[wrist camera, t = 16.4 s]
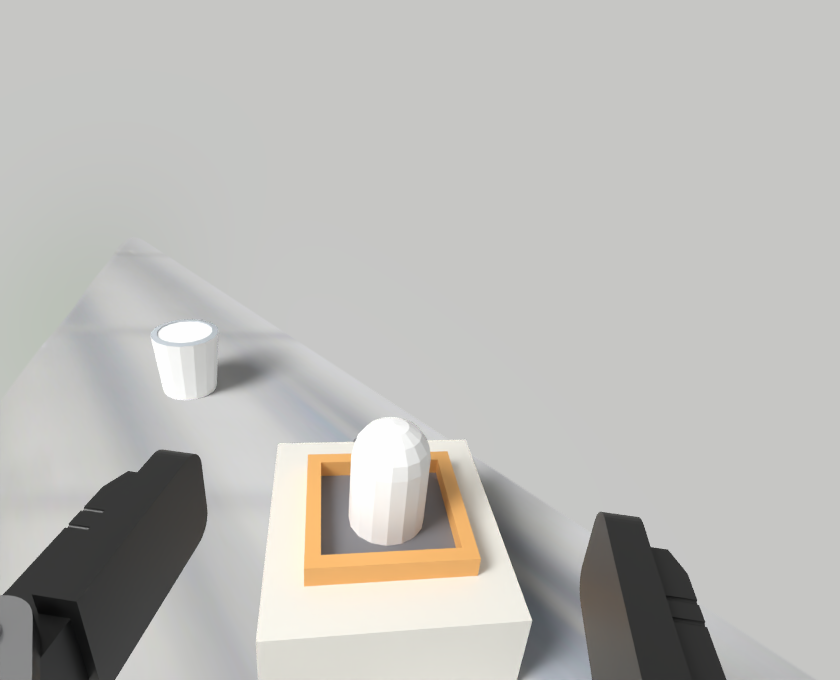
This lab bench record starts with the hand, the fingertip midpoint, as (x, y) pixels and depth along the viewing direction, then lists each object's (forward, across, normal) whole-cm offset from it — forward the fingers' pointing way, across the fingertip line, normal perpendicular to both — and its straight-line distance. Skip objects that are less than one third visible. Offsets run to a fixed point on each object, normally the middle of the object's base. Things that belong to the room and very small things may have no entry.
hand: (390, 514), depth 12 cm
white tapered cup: (+44, +29, +28) cm, 59 cm away
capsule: (+22, +3, +22) cm, 31 cm away
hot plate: (+23, +4, +27) cm, 36 cm away
